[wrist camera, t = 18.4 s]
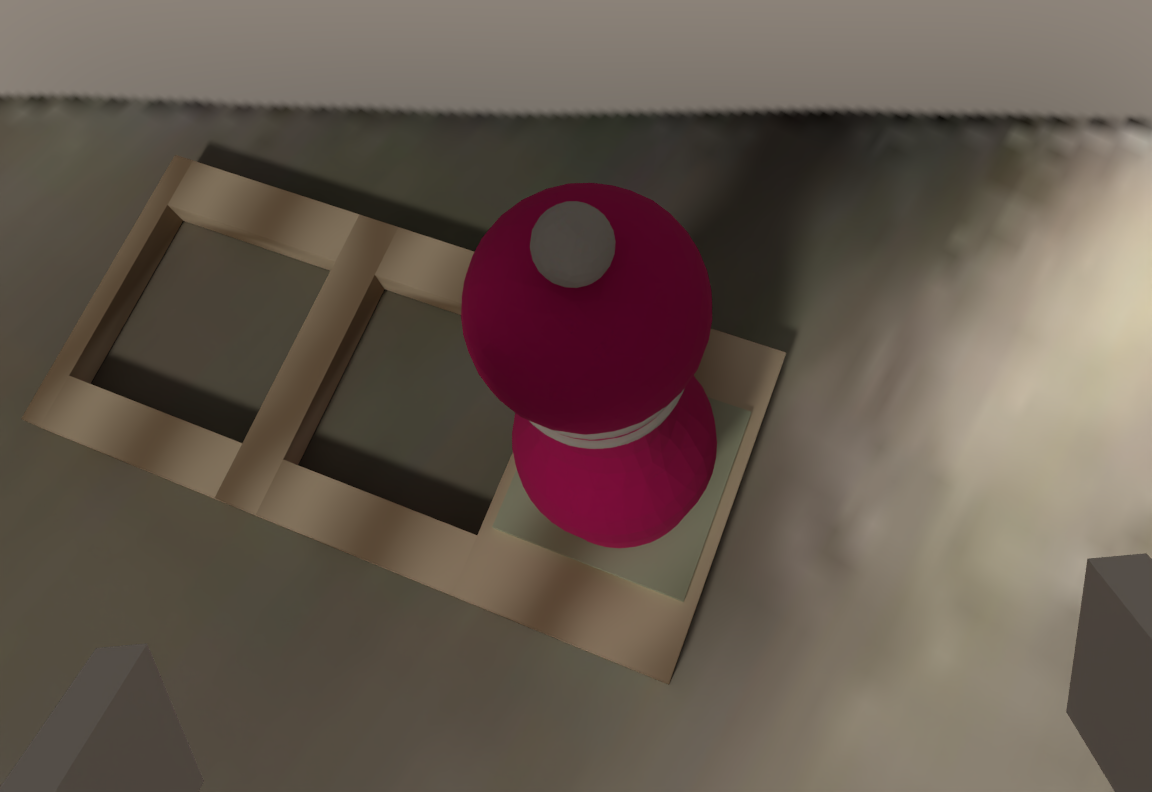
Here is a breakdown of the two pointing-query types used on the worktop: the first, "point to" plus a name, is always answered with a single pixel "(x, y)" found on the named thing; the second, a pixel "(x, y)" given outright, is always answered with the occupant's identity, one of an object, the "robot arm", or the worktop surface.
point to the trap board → (362, 520)
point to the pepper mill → (597, 358)
